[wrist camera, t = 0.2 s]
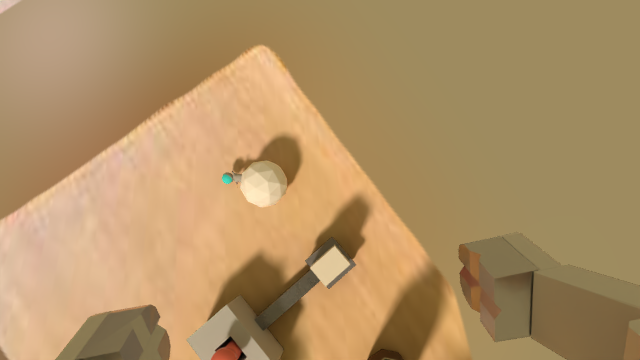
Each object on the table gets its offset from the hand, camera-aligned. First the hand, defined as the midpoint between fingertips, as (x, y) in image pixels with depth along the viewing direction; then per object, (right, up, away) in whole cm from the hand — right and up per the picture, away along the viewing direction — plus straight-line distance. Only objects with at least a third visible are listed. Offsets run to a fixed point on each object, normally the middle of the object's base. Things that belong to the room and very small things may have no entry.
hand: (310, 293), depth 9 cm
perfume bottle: (-11, +2, +55) cm, 56 cm away
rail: (-3, -16, +52) cm, 55 cm away
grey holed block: (-13, -24, +52) cm, 58 cm away
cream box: (+2, -11, +53) cm, 54 cm away
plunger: (-13, -24, +49) cm, 56 cm away
